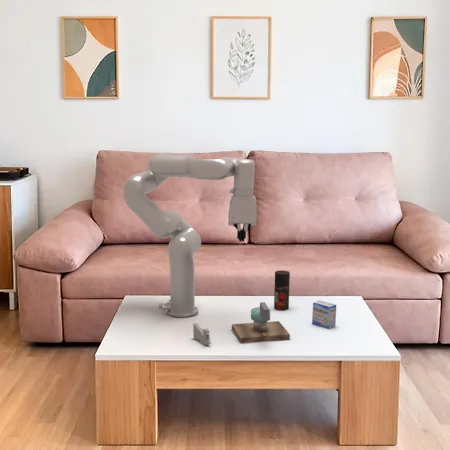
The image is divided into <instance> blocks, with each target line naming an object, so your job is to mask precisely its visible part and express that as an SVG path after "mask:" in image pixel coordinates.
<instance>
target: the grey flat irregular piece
mask: <svg viewBox="0 0 450 450" xmlns="http://www.w3.org/2000/svg"><path fill="white" fill-rule="evenodd" d="M192 325H193V328H192V329H193V331H192V332H193V339H194V340H198V341H199V342H200V343H201V344H202V345H204V346H207V345H211V344H212V341H211V338H210V330H209V328H202V327H201V326H200V325H199V323H198V322H194V323H192Z"/></svg>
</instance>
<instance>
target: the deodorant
mask: <svg viewBox="0 0 450 450" xmlns="http://www.w3.org/2000/svg"><path fill="white" fill-rule="evenodd" d="M290 274H291V273H290V271H288V270H275V271H274V292H273V293H274V296H273V298H274V299H273V310H276V311H281V312H282V311H283V312H284V311H287V310H290V278H291V275H290Z"/></svg>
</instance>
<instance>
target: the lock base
mask: <svg viewBox="0 0 450 450" xmlns="http://www.w3.org/2000/svg"><path fill="white" fill-rule="evenodd" d="M231 331H232V332H233V334H234V335H235V337H236V339H237V341H239V343H240V344H248V343H263V342H274V341H275V342H279V341H290V340H291V334H290V333H289V331H288V329H286V328H285V327H284V325H283V324H282V323H281V322H280V321H278V320H276V321H264V322H258V321H254V320H253V322H245V323H231Z"/></svg>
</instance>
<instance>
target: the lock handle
mask: <svg viewBox="0 0 450 450" xmlns="http://www.w3.org/2000/svg"><path fill="white" fill-rule="evenodd" d="M250 320H251V321H253V322H254V321H258V322H264V321H267V322H270V320H271V309H269V307H268V305H267V303H266V301H265V302H264V301H262V302H259V306H257V307H253V308H251V309H250Z"/></svg>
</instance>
